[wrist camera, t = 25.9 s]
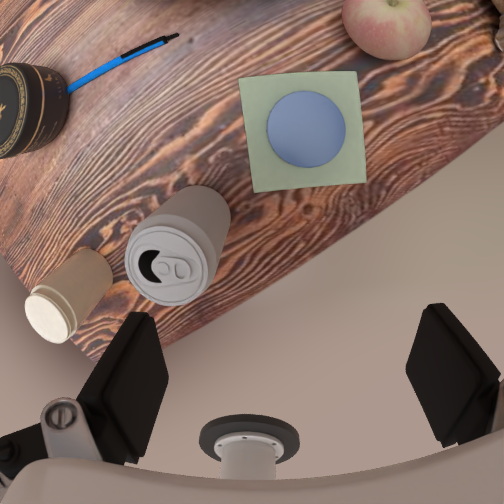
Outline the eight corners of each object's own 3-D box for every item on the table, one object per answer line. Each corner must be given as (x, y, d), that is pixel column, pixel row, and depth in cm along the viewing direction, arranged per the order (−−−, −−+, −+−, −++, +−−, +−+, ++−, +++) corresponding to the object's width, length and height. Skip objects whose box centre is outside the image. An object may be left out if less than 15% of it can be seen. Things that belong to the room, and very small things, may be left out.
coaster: (365, 182, 28) (366, 182, 27) (253, 192, 28) (253, 193, 28) (355, 71, 23) (356, 71, 23) (238, 79, 24) (238, 78, 24)
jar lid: (268, 89, 24) (268, 86, 23) (343, 97, 24) (348, 95, 22) (264, 163, 27) (264, 165, 25) (338, 169, 27) (342, 172, 25)
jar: (88, 109, 25) (43, 109, 18) (36, 167, 28) (-8, 181, 20) (53, 51, 22) (10, 42, 15) (6, 110, 24) (-36, 114, 17)
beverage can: (169, 182, 28) (114, 217, 17) (234, 185, 28) (215, 224, 17) (169, 242, 31) (124, 305, 20) (230, 248, 31) (212, 316, 20)
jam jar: (119, 293, 34) (80, 347, 24) (81, 295, 34) (38, 344, 24) (104, 245, 31) (54, 291, 22) (65, 251, 32) (14, 293, 22)
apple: (394, 2, 19) (429, -26, 12) (414, 66, 22) (457, 53, 15) (323, 1, 20) (342, -35, 13) (343, 68, 23) (372, 49, 16)
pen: (180, 39, 23) (177, 35, 22) (36, 118, 25) (30, 118, 24) (178, 31, 22) (175, 28, 21) (34, 111, 25) (28, 112, 24)
